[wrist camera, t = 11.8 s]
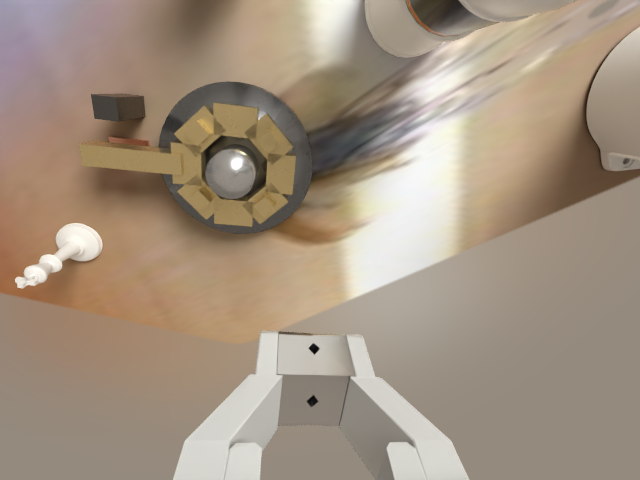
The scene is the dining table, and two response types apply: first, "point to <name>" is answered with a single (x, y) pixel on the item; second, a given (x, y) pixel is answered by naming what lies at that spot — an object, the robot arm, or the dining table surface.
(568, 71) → the dining table surface
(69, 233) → the chess piece
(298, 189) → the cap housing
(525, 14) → the vodka
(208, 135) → the gold ring with handle
